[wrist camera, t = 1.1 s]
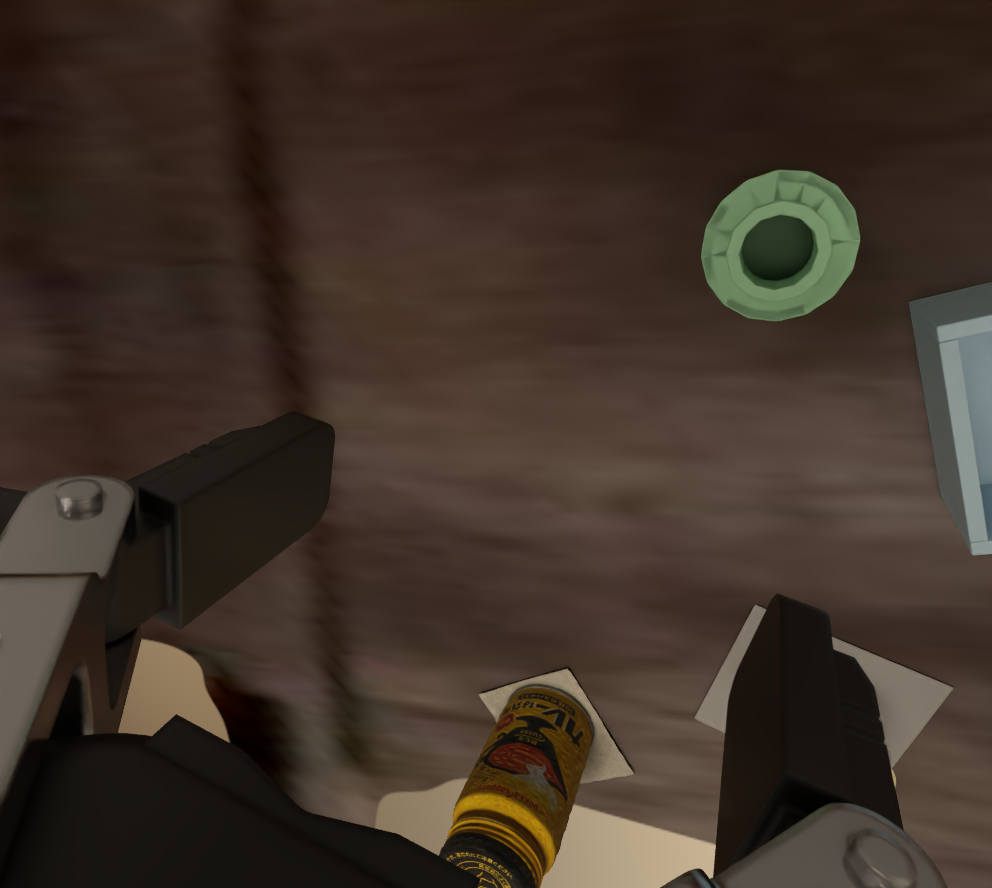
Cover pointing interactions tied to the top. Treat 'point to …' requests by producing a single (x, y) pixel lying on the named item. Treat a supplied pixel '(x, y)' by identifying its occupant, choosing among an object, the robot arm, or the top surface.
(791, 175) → the bottle
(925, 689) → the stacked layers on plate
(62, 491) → the robot arm
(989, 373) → the case
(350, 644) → the top surface
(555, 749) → the condiment
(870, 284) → the top surface
